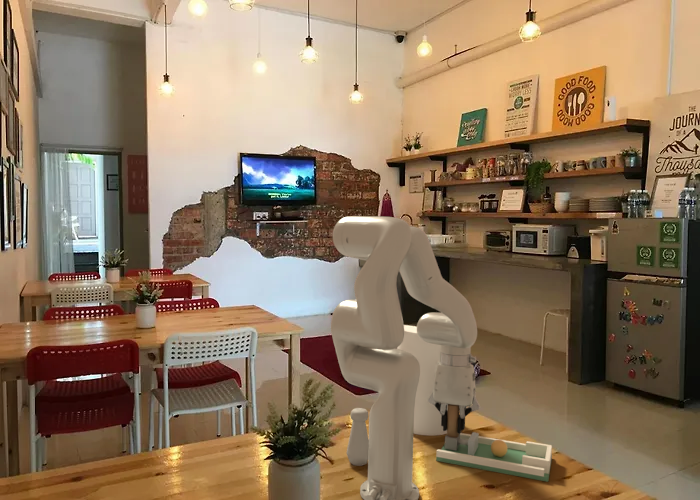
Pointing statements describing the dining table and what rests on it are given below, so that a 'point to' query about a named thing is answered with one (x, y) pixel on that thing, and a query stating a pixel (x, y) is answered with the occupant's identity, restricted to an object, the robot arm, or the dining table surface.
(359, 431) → the salt shaker
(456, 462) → the pitch
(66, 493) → the dining table surface
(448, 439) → the striker
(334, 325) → the robot arm
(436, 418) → the cylinder
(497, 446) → the ball
